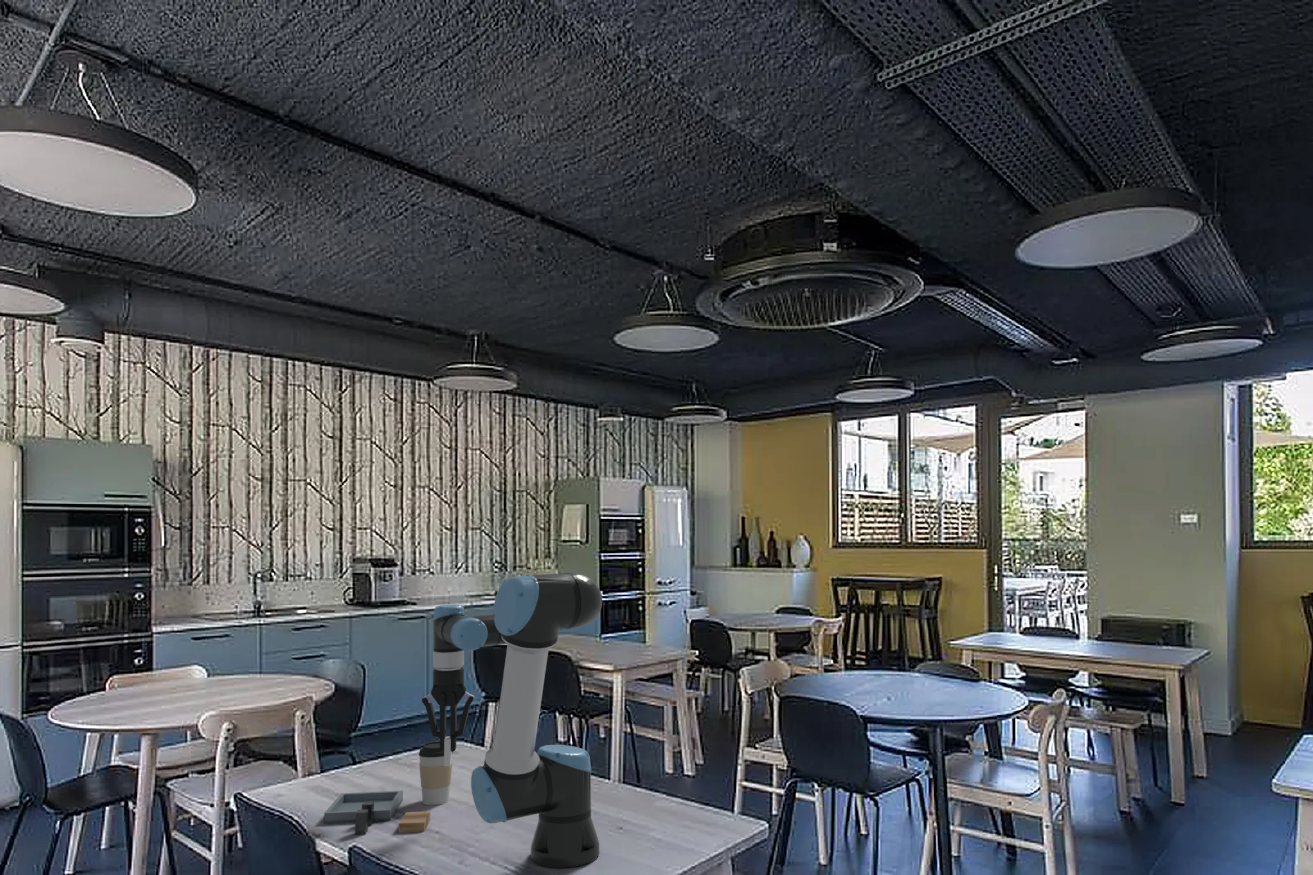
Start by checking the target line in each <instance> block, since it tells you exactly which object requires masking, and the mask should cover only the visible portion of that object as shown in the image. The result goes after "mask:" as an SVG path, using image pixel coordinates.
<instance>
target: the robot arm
mask: <svg viewBox="0 0 1313 875" xmlns="http://www.w3.org/2000/svg"><path fill="white" fill-rule="evenodd" d="M602 596H603V595H602V593H601V590H600V588H599V586H598V585H597V584H596V581H594V580H592V578H590V577H588V576H586V575H584V574H582V573H577V572H576V573H575V572H564V573H548V574H547V573H546V574H545V573H544V574H523V575H518V576H512V577H509V578H508V579H506V580H505V581H503V583H502V584H501V585H500V587H499V588H498V590H497V593H496V596H495V599H494V604H493V614H484V615H483V614H482V615H469V616H466V614H465V608H464V606H463V605H461V604H441V605H438V606H435V608H434V609H433V619H432V624H433V625H432V627H433V635H432V636H433V642H432V643H433V645H432V646H433V653H432V655H433V656H432V658H433V659H432V663H433V664H432V666H433V668H434V669H433V670H432V688H431V690H430V693H428V694H427V695H424V696H423V697H422V699H421V702H422V704H423V705H424V706H425V709H426V715H427V718H428V722H429V726H430V731H431V735H432V737H437V738H438V739H439V742H440V752H444V766H451V764H452V765H453V753H452V751H453V752H455V751H456V750H457V737H459V736H460V737H461V736H463V734H464V732H465V728H466V723H467V721H468V716H469V711H470V708H471V704H472V703H473V701H474V699H475V698H476V697H475V694H471V693H469V692H468V691H467V688H466V687H465V686H466V685H465V669H464V667H463V666H464V665H465V651H476V650H478V649H480V648H484V647H492V646H499V645H507V647H506V654H505V662H504V668H503V676H502V684H501V689H500V690H501V691H500V696H499V697H500V698H499V705H498V713H497V721H496V728H495V734H494V741H493V746H492V747H490V748H489V749H488V750H487V751H486V752H485V755H484V761H483V766H481V765H478V766H477V767H475V768H474V769H473V770H472V772H471V775H470V776H471V778H470V787H471V794H472V799H473V802H474V805H475V808H476V811H477V813H478V815H479V817H480V818H481V819H482V820H483V821H484V822H485V823H487V824H497V823H507V821H512V820H516V819H517V820H518V819H520V818H524V817H529V816H533V815H537V814H538V820H537V821H538V822H537V825H536V827H535V828H536V829H535V832H534V835H533V838H532V841H531V845H530V859H531V861H532V862H533V863H534V864H537V865H539V866H543V867H546V868H553V869H554V868H555V869H557V868H558V869H561V868H562V869H565V868H574V867H573V866H575V867H578V866H577V865H580V866H584V865H586V864H585V863H587V864H589V863H591V862H593V861H595V860H596V859H597V858H598V857H599V856H598V855H600V840H599V837H598V835H597V832H596V831H597V830H596V828H595V825H594V822H593V819H592V800H591V799H592V795H591V794H592V791H591V790H592V781H591V780H592V777H591V775H592V765H591V764H592V763H591V757H590V754H589V753H588V751H587V750H586V749H584V748H580V747H578V746H577V747H576V746H573V745H572V746H571V745H564V744H563V745H562V744H545V745H542V746H540V747H539V748H538V750H537V752H536V751H535V747H536V740H537V733H538V728H539V727H538V725H539V719H540V712H541V705H542V698H543V691H544V684H545V679H546V678H545V676H546V671H547V662H548V658H549V657H548V656H549V650H550V649H552V648H553V647H555V646H556V645H557V642H558V638H559V631H561V630H570V629H575V628H580V627H583V626H586V625H589V624H591V623H592V622H593V621H595V619H597V617H598V616H599V615H600V613H601V609H602V606H603V597H602ZM463 697H464V698H463ZM433 699H434V700H435V702H436V703H437V704H438V705H439V726H438V722H437V718H436V714H435V709H434V705H433V701H434V700H433ZM462 699H463V701H464V703H465V704H464V706H463V709H462V710H463V711H462V712H461V713H462V714H461V718H460V722H459V727H458V726H457V724H458V723H457V721H458V719H457V718H458V714H457V712H458V711H457V709H458V708H457V707H458V704H459V703H460V701H461V700H462ZM447 707H449V711H450V712H449V713H450V714H449V716H450V721H449V722H450V725H449V726H450V730H449V731H450V732H449V733H450V736H446V735H447ZM457 727H458V729H457ZM597 856H598V857H597ZM596 857H597V858H596ZM595 858H596V859H595ZM594 859H595V860H594ZM590 861H591V862H590ZM588 862H589V863H588ZM583 864H584V865H583Z"/></svg>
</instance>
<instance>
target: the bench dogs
mask: <svg viewBox="0 0 1313 875" xmlns="http://www.w3.org/2000/svg"><path fill="white" fill-rule="evenodd" d="M374 822H375V821H374V802H364V803H363V804H362V810H358V811H357V812H356V820H355V822H354V823H355V825H354V826H355V828H354V831H355V834H354V835H356V836H357V835H358V836H359V835H366V834H368V832H369V826H373V824H374Z"/></svg>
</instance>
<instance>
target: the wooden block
mask: <svg viewBox="0 0 1313 875" xmlns="http://www.w3.org/2000/svg"><path fill="white" fill-rule="evenodd" d="M430 821H431V811H430V810H429V811H411V812H409V811H406V812H405V814H404V815H403V816H402V818H401V820H400V821H399V822H398V833H418V832H419V833H420V832H425V831H426V829H427V828H428V826H429V824H430Z"/></svg>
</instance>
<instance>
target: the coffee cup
mask: <svg viewBox="0 0 1313 875" xmlns="http://www.w3.org/2000/svg"><path fill="white" fill-rule="evenodd" d="M453 753H454V751H452V754H453ZM418 756H419V776H420V787H421V797H422V798H421V800H422V804H424V805H426V806H439V805H443V804H446V803H447V802H449V801H450V800H449V799H450V789H451V782H452V781H451V780H452V769H453V763H452V764H451V766H444V752H440V741H433V742H428V741H427V742H423V744H422V747H421V748H420V749H419V752H418Z"/></svg>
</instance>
